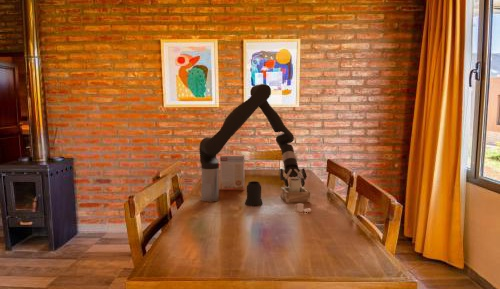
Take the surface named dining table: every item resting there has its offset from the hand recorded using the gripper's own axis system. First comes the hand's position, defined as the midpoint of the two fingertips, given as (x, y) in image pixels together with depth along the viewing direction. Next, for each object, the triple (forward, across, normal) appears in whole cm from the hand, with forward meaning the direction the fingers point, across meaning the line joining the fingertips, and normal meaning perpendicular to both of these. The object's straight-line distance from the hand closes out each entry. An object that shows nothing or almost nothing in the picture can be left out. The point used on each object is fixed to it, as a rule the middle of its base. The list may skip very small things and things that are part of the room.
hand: (295, 185), depth 171 cm
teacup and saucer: (+21, -2, -9) cm, 23 cm away
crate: (+5, 0, +6) cm, 8 cm away
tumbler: (+4, 0, +6) cm, 7 cm away
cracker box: (-14, -31, +25) cm, 42 cm away
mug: (+7, -23, +4) cm, 24 cm away
